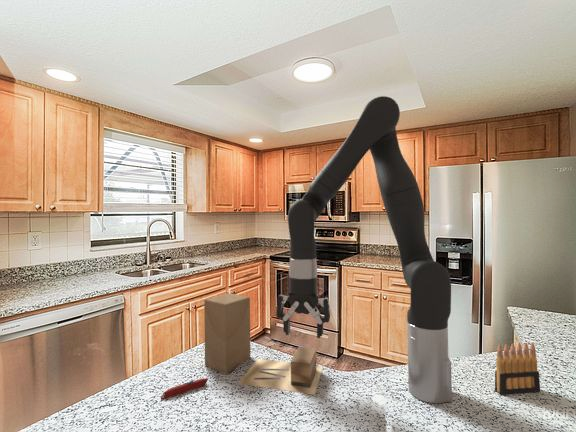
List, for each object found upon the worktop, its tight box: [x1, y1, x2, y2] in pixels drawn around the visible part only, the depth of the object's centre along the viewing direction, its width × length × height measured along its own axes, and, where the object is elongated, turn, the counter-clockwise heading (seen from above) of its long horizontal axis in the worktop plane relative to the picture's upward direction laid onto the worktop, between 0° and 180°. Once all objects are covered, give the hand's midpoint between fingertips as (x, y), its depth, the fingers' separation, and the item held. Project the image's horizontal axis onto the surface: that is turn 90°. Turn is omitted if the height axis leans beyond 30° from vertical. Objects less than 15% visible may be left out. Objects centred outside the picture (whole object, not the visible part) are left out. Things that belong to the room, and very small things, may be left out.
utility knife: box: [160, 378, 209, 400], centre depth 76 cm, size 12×1×2 cm, turn 124°
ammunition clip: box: [494, 342, 541, 396], centre depth 74 cm, size 11×2×12 cm, turn 95°
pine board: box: [238, 358, 324, 395], centre depth 81 cm, size 20×14×2 cm
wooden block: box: [203, 293, 251, 375], centre depth 91 cm, size 10×10×20 cm
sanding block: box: [290, 346, 317, 388], centre depth 79 cm, size 5×9×6 cm, turn 165°
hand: (303, 335), depth 80 cm, fingers open, 8 cm apart
